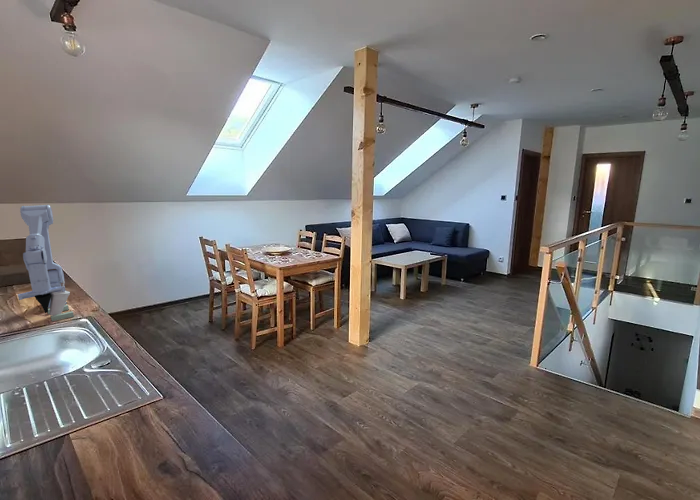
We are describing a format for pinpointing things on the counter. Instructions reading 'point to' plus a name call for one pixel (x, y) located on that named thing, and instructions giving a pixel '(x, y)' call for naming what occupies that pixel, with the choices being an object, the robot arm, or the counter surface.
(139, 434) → the counter surface
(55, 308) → the smoothie
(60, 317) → the slot
